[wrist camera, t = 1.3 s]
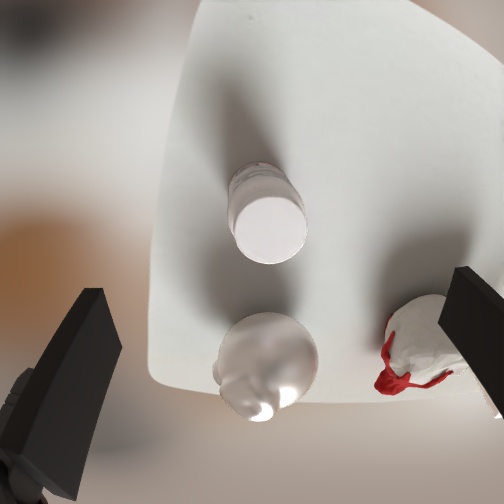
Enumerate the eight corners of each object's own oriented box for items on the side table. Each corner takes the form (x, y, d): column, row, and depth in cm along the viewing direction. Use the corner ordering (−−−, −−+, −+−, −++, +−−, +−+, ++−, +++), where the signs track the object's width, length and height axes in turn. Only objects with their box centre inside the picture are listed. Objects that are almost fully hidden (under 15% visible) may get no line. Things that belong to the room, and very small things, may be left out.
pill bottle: (280, 224, 25) (299, 278, 18) (223, 212, 25) (217, 263, 17) (296, 169, 23) (326, 200, 16) (236, 155, 23) (236, 179, 15)
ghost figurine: (206, 297, 28) (196, 381, 19) (309, 288, 28) (338, 368, 19) (219, 364, 32) (217, 443, 23) (306, 357, 32) (324, 432, 23)
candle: (475, 276, 28) (408, 361, 36) (410, 253, 26) (340, 355, 34) (515, 330, 21) (429, 416, 29) (454, 320, 19) (356, 421, 27)
